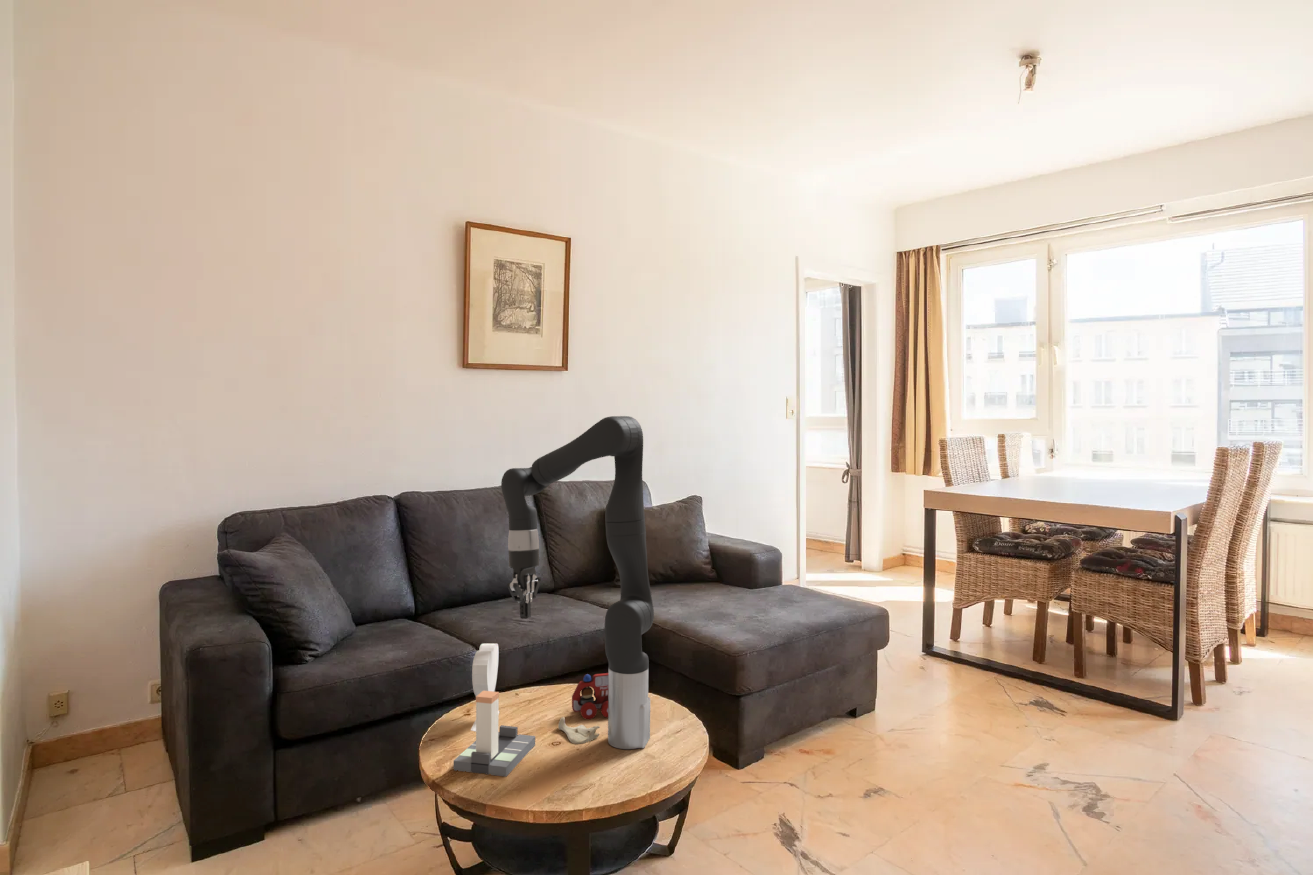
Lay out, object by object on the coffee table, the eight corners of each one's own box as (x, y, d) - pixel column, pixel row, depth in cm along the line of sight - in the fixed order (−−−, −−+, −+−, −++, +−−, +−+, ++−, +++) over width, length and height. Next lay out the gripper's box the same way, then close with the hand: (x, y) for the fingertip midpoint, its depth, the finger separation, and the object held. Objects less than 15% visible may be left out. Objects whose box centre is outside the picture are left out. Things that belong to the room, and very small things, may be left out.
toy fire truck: (570, 710, 196) (570, 670, 196) (617, 706, 199) (618, 666, 199) (573, 721, 190) (574, 679, 189) (623, 717, 193) (623, 675, 192)
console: (535, 744, 176) (535, 727, 176) (506, 776, 160) (506, 757, 160) (486, 739, 179) (486, 722, 178) (453, 769, 163) (453, 751, 163)
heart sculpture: (481, 708, 197) (481, 638, 197) (501, 708, 197) (501, 638, 197) (468, 733, 182) (469, 657, 181) (490, 733, 182) (490, 658, 181)
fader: (498, 752, 166) (498, 691, 166) (491, 759, 163) (491, 697, 163) (483, 750, 167) (483, 690, 167) (475, 757, 164) (475, 696, 163)
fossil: (580, 724, 189) (580, 710, 189) (601, 740, 180) (601, 725, 179) (554, 730, 185) (554, 716, 185) (574, 746, 176) (574, 731, 176)
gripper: (522, 550, 185) (524, 623, 184) (549, 545, 197) (551, 613, 196) (496, 550, 188) (497, 622, 187) (524, 545, 200) (526, 613, 199)
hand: (525, 617), depth 191 cm, fingers closed
